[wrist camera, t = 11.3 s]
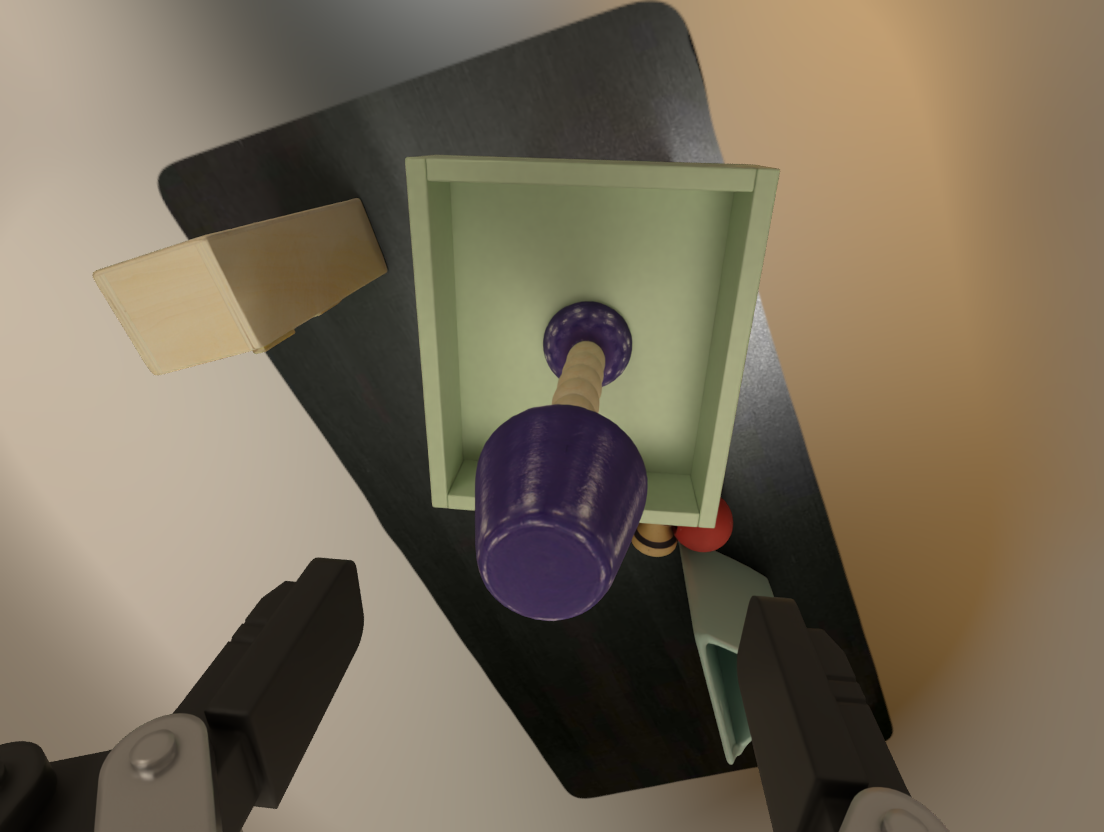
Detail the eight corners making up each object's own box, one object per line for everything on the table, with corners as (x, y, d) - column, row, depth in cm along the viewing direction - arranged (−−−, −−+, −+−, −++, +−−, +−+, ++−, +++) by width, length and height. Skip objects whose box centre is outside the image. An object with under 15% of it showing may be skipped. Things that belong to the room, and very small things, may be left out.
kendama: (555, 518, 63) (723, 549, 60) (542, 544, 57) (727, 580, 54) (562, 452, 61) (736, 480, 58) (549, 472, 55) (742, 505, 52)
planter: (780, 631, 66) (843, 813, 48) (711, 643, 67) (747, 823, 50) (752, 518, 59) (811, 679, 42) (676, 535, 61) (703, 695, 44)
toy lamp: (519, 361, 28) (414, 615, 13) (555, 272, 26) (480, 451, 11) (609, 398, 28) (608, 685, 13) (651, 313, 26) (706, 541, 11)
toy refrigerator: (316, 301, 54) (156, 388, 35) (280, 221, 51) (85, 269, 32) (393, 280, 52) (269, 358, 33) (361, 196, 49) (205, 231, 30)
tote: (434, 154, 25) (403, 157, 21) (754, 164, 24) (781, 168, 20) (452, 465, 32) (431, 507, 28) (702, 482, 31) (715, 529, 27)
